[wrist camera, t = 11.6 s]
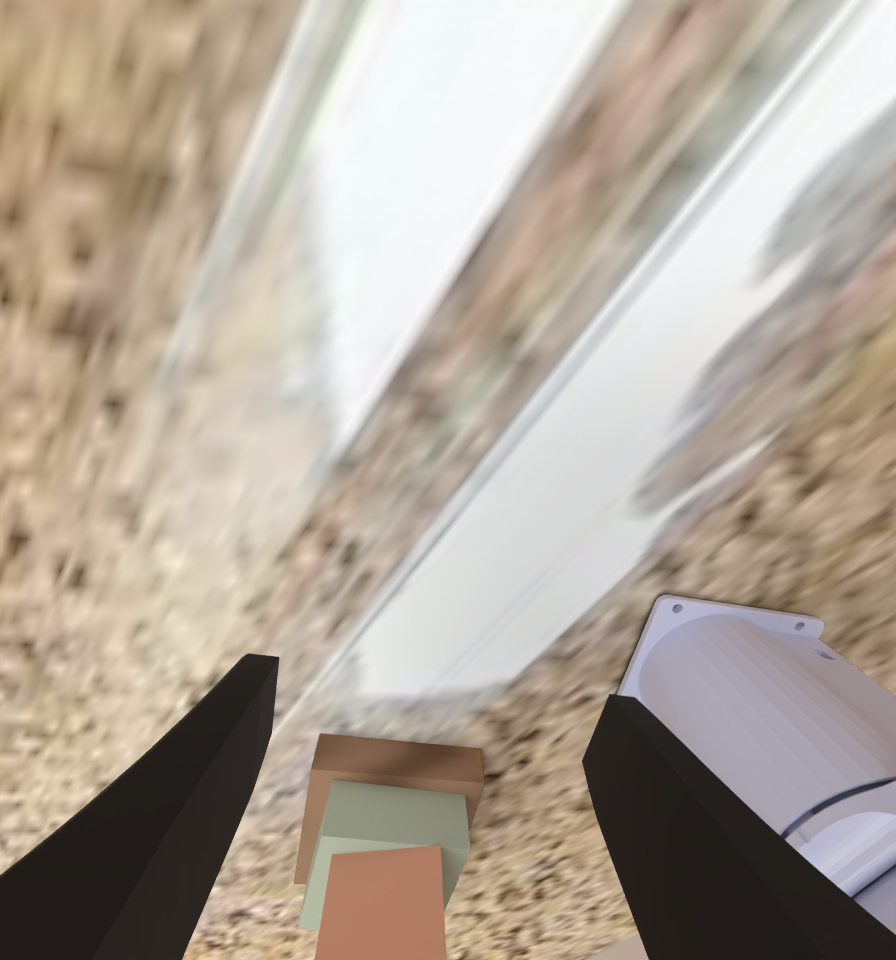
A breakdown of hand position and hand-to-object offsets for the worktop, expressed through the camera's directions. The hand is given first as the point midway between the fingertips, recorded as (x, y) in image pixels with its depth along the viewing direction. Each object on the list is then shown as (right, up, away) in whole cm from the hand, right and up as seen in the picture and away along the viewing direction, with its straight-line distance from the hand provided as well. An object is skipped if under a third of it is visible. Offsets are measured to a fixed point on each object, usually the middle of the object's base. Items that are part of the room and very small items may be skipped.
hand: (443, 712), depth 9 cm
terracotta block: (-3, -15, +11) cm, 18 cm away
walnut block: (-3, -14, +16) cm, 21 cm away
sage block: (-3, -14, +14) cm, 20 cm away
